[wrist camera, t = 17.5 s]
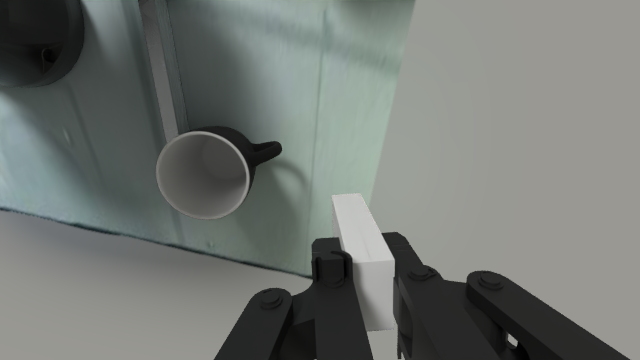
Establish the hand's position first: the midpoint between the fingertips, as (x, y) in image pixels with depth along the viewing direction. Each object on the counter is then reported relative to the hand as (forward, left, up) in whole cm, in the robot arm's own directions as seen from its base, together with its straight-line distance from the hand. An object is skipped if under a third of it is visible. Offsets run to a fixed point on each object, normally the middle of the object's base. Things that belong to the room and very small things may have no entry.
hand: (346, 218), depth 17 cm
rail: (-17, +7, -24) cm, 31 cm away
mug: (-11, -1, -25) cm, 27 cm away
